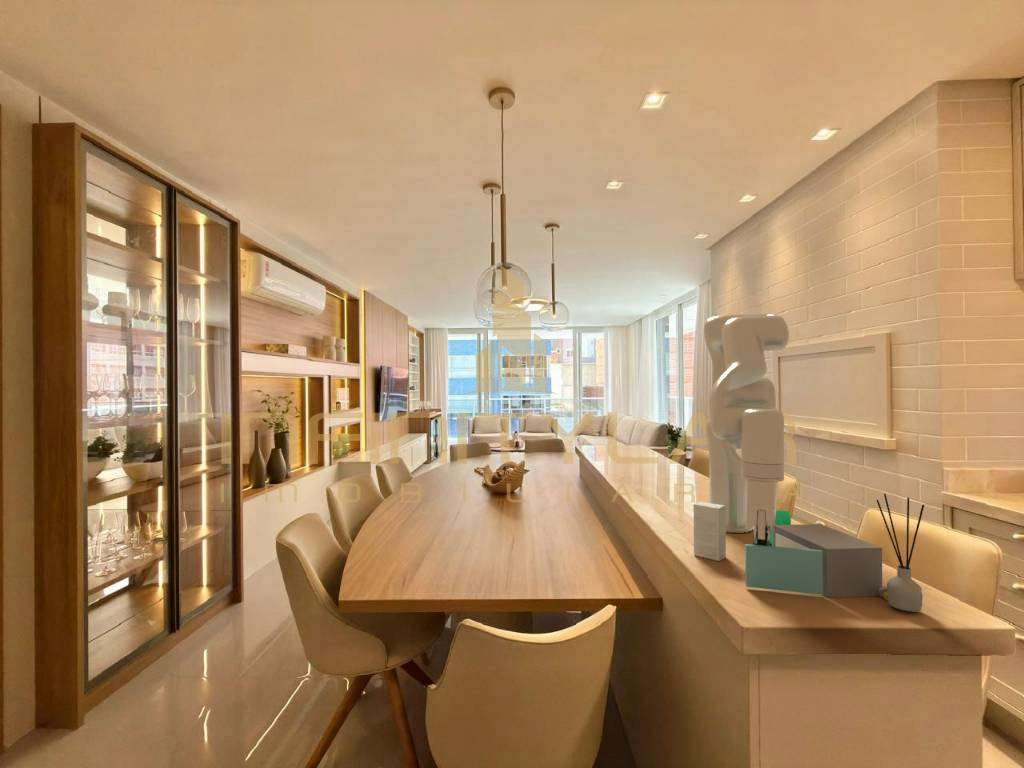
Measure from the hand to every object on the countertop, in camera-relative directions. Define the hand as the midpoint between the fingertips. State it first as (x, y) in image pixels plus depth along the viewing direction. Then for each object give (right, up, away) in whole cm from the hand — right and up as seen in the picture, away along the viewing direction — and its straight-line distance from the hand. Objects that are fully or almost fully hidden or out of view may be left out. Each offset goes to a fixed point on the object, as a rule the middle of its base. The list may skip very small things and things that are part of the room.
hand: (762, 563), depth 95 cm
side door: (+2, -4, -4) cm, 6 cm away
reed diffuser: (+18, -4, -10) cm, 21 cm away
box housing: (+14, -4, +2) cm, 15 cm away
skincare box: (-4, -5, +16) cm, 17 cm away
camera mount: (+16, -5, +18) cm, 25 cm away
